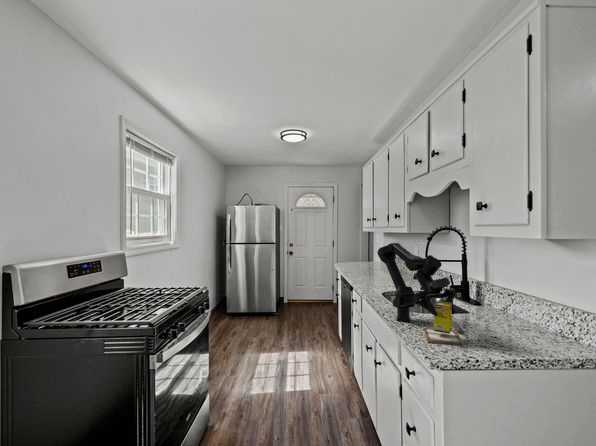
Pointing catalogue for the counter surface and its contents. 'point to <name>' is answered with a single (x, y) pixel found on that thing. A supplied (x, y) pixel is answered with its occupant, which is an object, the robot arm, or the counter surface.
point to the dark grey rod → (457, 328)
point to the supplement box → (443, 317)
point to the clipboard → (442, 337)
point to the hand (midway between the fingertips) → (445, 314)
